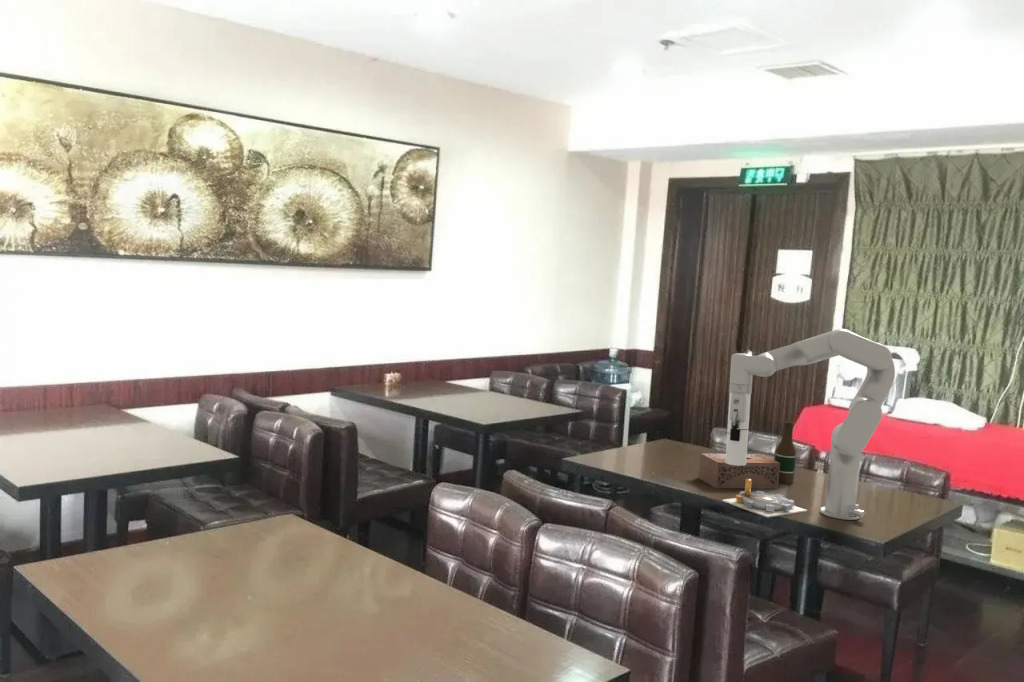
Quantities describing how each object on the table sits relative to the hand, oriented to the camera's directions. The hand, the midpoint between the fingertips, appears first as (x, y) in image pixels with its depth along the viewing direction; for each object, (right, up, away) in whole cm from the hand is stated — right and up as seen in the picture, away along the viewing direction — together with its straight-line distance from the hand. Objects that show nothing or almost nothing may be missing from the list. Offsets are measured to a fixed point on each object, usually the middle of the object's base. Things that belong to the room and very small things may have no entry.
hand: (737, 438), depth 289 cm
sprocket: (+8, -23, -4) cm, 25 cm away
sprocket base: (+8, -23, -4) cm, 25 cm away
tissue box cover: (+8, -21, +28) cm, 35 cm away
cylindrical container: (0, -9, +1) cm, 9 cm away
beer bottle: (+27, -21, +34) cm, 48 cm away
